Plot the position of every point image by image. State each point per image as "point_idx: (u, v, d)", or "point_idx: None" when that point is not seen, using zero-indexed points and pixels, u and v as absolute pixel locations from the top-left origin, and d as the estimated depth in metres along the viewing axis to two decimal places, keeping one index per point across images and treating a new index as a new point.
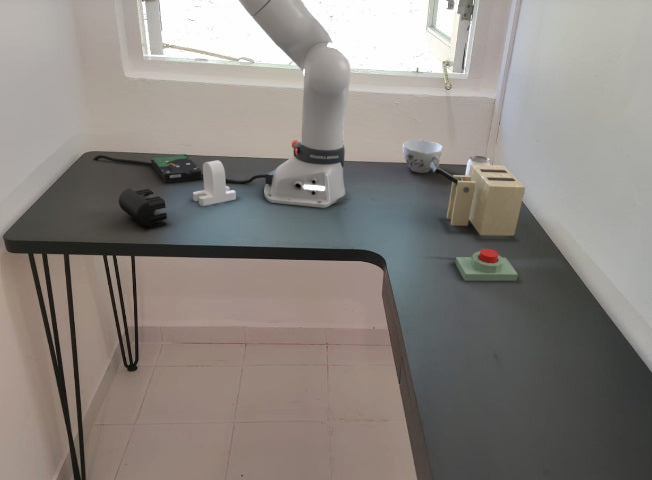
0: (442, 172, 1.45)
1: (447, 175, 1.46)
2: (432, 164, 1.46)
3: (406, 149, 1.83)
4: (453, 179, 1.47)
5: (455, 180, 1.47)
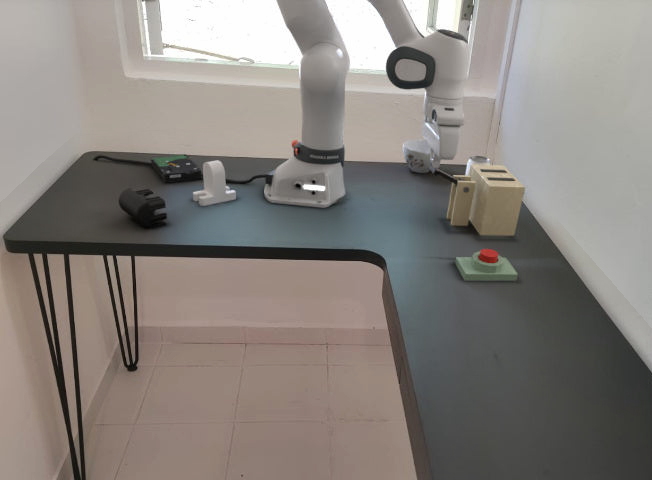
0: (441, 173, 1.45)
1: (446, 176, 1.46)
2: (431, 166, 1.46)
3: (406, 149, 1.83)
4: (453, 180, 1.47)
5: (455, 180, 1.47)
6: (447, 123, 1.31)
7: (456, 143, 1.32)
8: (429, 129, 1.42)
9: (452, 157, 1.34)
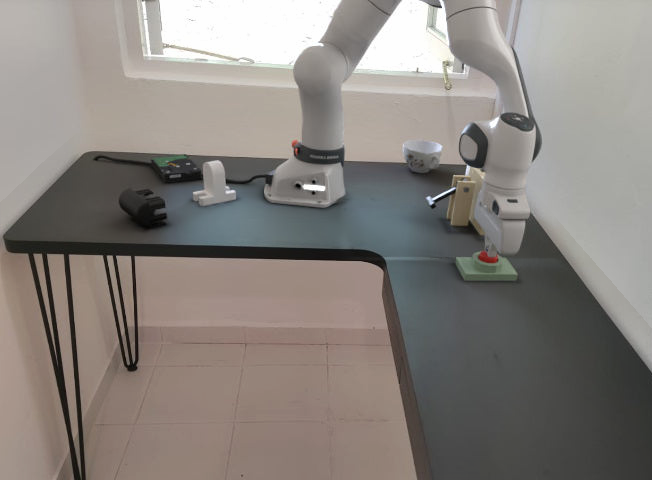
0: (438, 198, 1.49)
1: (444, 195, 1.49)
2: (427, 200, 1.51)
3: (406, 149, 1.83)
4: (451, 192, 1.49)
5: (453, 191, 1.48)
6: (511, 217, 1.17)
7: (520, 238, 1.19)
8: (485, 216, 1.29)
9: (515, 252, 1.21)
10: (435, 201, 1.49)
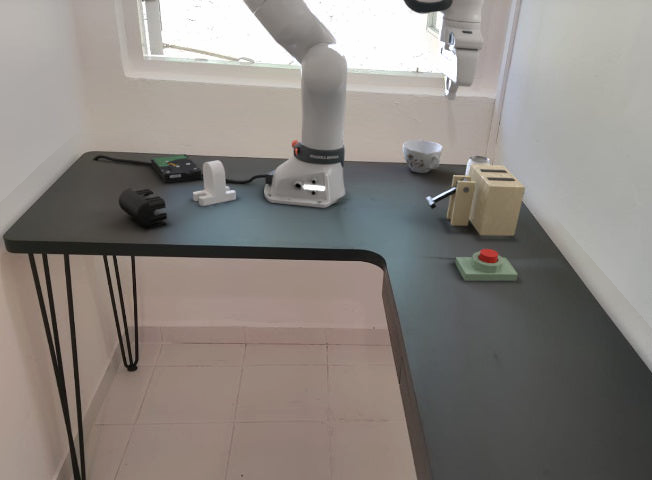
0: (438, 198, 1.49)
1: (444, 195, 1.49)
2: (427, 200, 1.51)
3: (406, 149, 1.83)
4: (451, 192, 1.49)
5: (453, 191, 1.48)
6: (465, 46, 1.25)
7: (474, 68, 1.27)
8: (445, 58, 1.37)
9: (470, 83, 1.28)
10: (435, 201, 1.49)
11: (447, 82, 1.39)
